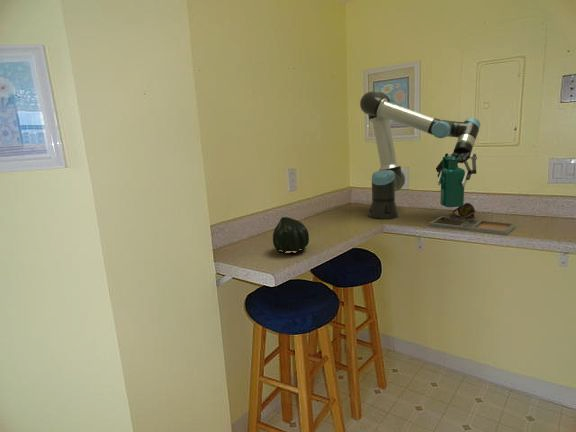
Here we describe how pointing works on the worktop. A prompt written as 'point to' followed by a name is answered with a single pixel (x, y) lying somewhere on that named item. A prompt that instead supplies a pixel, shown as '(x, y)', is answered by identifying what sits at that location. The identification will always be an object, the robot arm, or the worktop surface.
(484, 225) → the rail
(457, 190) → the green bottle
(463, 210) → the brown mottled shell
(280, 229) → the squash
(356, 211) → the worktop surface
